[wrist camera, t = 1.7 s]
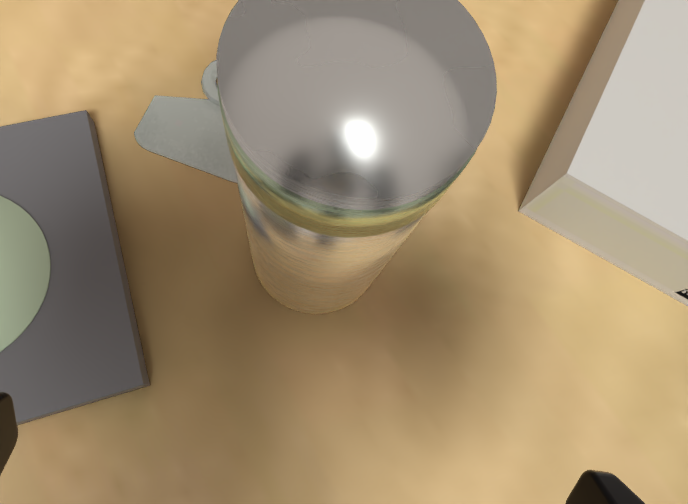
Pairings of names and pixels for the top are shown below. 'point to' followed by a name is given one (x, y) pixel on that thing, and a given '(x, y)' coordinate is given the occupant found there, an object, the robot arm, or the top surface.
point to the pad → (61, 273)
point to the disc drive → (626, 150)
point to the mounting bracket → (189, 130)
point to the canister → (346, 132)
